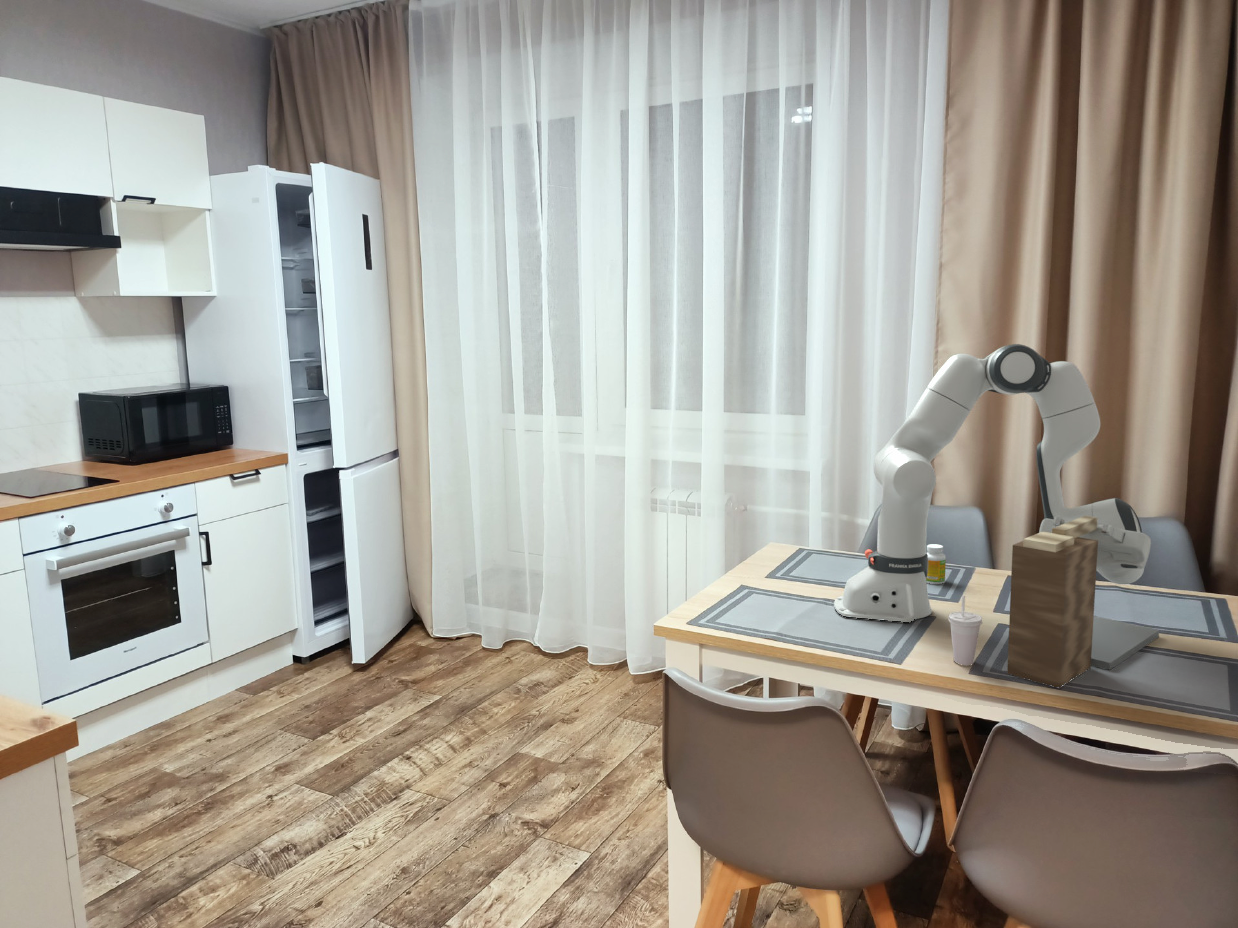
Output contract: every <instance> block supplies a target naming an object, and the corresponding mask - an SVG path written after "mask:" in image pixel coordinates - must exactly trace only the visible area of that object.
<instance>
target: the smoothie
mask: <svg viewBox="0 0 1238 928" xmlns="http://www.w3.org/2000/svg"><path fill="white" fill-rule="evenodd" d="M965 600H966V595H962V596H961V611H953V612H951V613H950V614H948V621H949V623H950V625H949V626H950V631H951V632H950V633H951V643H952V644H951V645H952V652H953V653H952V654H953V662H954V661H955V662H956V663H959V664H962V665H961V666H963V665H970V666H972V665H971V664H973V663H975V658H976V651H977V646H978V641H979V634H980V628H981V625H982V624H983V617H982V616H981V615H979V614H977V613H974V612H968V611H965V608H966V607H965V606H966V605H965V603H966V601H965ZM955 662H954V663H955ZM956 663H955V664H956ZM973 665H974V664H973Z"/></svg>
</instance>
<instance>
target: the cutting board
mask: <svg viewBox="0 0 1238 928" xmlns="http://www.w3.org/2000/svg"><path fill="white" fill-rule="evenodd" d="M1159 637H1160V630H1159V629H1156V628H1150V627H1146V626H1144V625H1143V626H1141V625H1137V624H1133V623H1127V622H1124V621H1120V620H1115V619H1110V618H1105V617H1101V616H1096V615H1094V619H1093V636H1092V653H1091V665H1093V666H1092V667H1096V668H1099V667H1100V668H1099V669H1104V670H1107V669H1109V670H1108V671H1111V670H1112V669H1114V668H1115V667H1116V666H1119V664H1121V663H1122V662H1124V661H1126V660H1127V659H1129V658H1130V657H1132V656H1134V654H1135V653H1137V652H1139V651H1140V650H1142V649H1143V648H1144V647H1146V646H1148V645H1149V644H1150V643H1152V642H1153V641H1155V640H1156V639H1158V638H1159ZM1113 667H1114V668H1113ZM1110 669H1111V670H1110Z"/></svg>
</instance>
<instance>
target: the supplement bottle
mask: <svg viewBox="0 0 1238 928" xmlns="http://www.w3.org/2000/svg"><path fill="white" fill-rule="evenodd" d="M943 552H944V546H943V545H941V544H935V543H931V544H928V545H927V544H926V553H927V555H928V573H927V577H926V583H927V584H929V583H930V585H942V583H943V584H945V582H946V566H947V565H946V560H947V557H946V555H945V553H943Z"/></svg>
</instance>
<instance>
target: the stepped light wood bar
mask: <svg viewBox="0 0 1238 928" xmlns="http://www.w3.org/2000/svg"><path fill="white" fill-rule="evenodd" d="M1096 529H1097V517H1091V516H1083V517H1080V518H1078V519H1075V520H1073V521H1070V522H1068V523H1065V524H1063V525H1060V526H1057V527H1055V528H1052V533H1049V532H1040V533H1039V532H1038V533H1035V534H1033V535H1030V536H1028V537H1025V538H1023V540H1022V541H1023V547H1028V548H1033V549H1039V550H1045V551H1050V552H1057V551H1060V550H1062V549H1064V548H1067V547H1069V546H1071V545H1074V538H1077V537H1079V536H1081V535H1084V534H1086V533H1088V532H1091V531H1093V530H1096Z"/></svg>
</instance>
